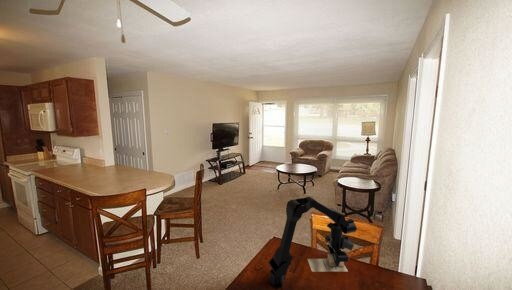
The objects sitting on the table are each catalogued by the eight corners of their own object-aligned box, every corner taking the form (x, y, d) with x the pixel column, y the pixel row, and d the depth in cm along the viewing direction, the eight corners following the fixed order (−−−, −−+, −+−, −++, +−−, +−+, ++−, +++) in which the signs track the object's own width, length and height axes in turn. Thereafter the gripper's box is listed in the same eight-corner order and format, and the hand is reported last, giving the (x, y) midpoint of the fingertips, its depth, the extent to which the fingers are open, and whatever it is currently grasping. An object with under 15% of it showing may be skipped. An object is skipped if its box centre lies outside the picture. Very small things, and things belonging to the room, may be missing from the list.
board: (311, 273, 109) (312, 271, 109) (307, 260, 119) (307, 258, 119) (347, 273, 109) (348, 271, 109) (340, 260, 119) (340, 258, 119)
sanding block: (330, 266, 112) (330, 258, 111) (327, 261, 116) (327, 253, 115) (343, 266, 112) (344, 258, 111) (340, 261, 116) (340, 253, 115)
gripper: (360, 245, 102) (359, 275, 104) (344, 225, 121) (343, 252, 123) (336, 245, 102) (335, 276, 104) (324, 226, 121) (324, 252, 123)
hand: (335, 263), depth 114 cm, fingers closed on sanding block, 4 cm apart
